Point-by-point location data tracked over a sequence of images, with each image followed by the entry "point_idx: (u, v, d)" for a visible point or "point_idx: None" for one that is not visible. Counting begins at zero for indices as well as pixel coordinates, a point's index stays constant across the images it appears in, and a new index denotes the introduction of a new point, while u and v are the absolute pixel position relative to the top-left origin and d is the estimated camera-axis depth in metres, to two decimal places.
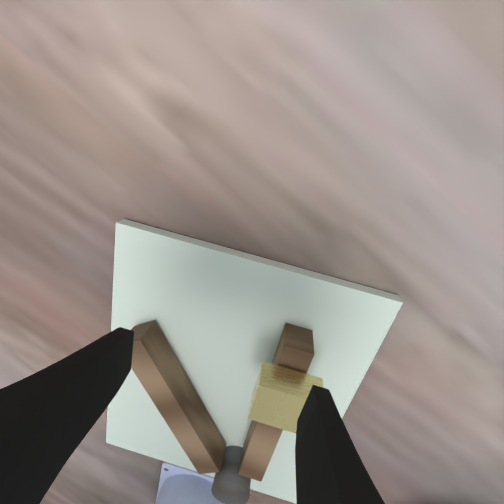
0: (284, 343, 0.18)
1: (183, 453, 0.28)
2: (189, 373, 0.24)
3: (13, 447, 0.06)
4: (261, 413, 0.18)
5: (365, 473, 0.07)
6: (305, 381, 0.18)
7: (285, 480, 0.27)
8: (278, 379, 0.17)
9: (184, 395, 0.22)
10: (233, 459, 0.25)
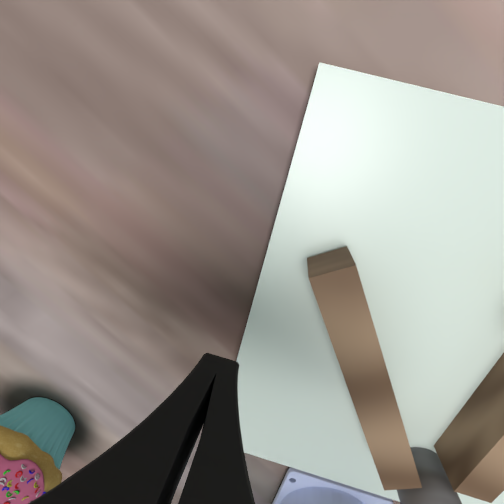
0: None
1: (330, 458, 0.19)
2: (377, 336, 0.15)
3: (162, 496, 0.06)
4: None
5: (236, 433, 0.08)
6: None
7: None
8: None
9: None
10: (429, 467, 0.17)
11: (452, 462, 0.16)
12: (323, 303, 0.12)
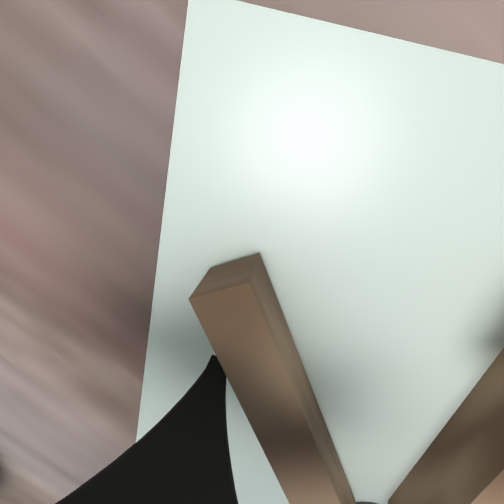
0: None
1: None
2: (308, 369, 0.12)
3: None
4: None
5: (221, 428, 0.08)
6: None
7: None
8: None
9: (312, 414, 0.11)
10: None
11: None
12: (213, 334, 0.09)
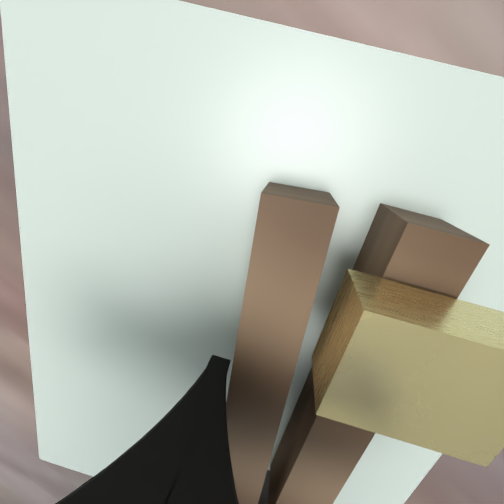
0: (404, 222, 0.07)
1: None
2: (172, 331, 0.12)
3: None
4: (358, 401, 0.06)
5: (222, 428, 0.08)
6: (472, 313, 0.07)
7: None
8: (406, 303, 0.06)
9: None
10: None
11: (272, 488, 0.13)
12: (261, 244, 0.08)
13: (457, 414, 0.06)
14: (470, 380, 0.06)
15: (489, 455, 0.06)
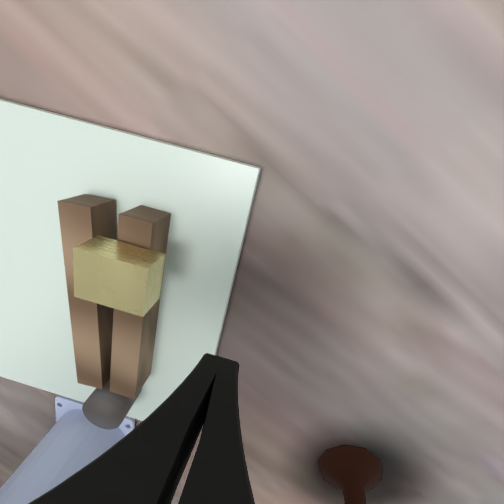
0: None
1: (70, 381, 0.25)
2: (56, 279, 0.21)
3: (162, 496, 0.06)
4: (86, 288, 0.15)
5: (236, 433, 0.08)
6: (139, 252, 0.15)
7: None
8: (104, 247, 0.15)
9: None
10: None
11: None
12: (63, 224, 0.16)
13: (122, 291, 0.15)
14: (119, 275, 0.15)
15: (141, 311, 0.15)
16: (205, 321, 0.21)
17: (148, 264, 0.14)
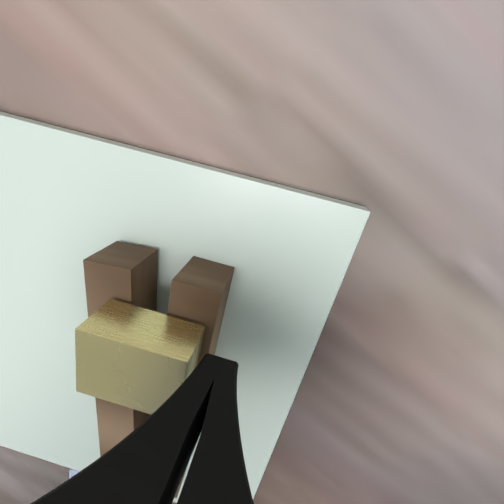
0: None
1: (88, 456, 0.20)
2: (73, 342, 0.16)
3: (164, 496, 0.06)
4: (94, 382, 0.10)
5: (235, 432, 0.08)
6: (170, 328, 0.11)
7: None
8: (120, 323, 0.10)
9: None
10: None
11: None
12: (91, 291, 0.12)
13: (146, 389, 0.10)
14: (143, 369, 0.10)
15: None
16: (269, 399, 0.16)
17: (186, 352, 0.10)
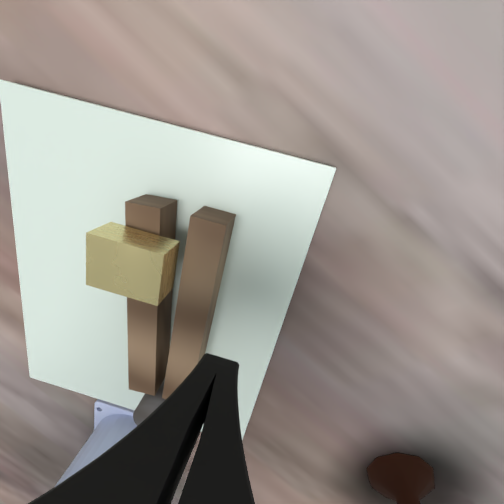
0: (192, 215, 0.15)
1: (113, 386, 0.24)
2: None
3: (163, 496, 0.06)
4: (99, 275, 0.15)
5: (236, 433, 0.08)
6: (154, 239, 0.15)
7: None
8: (117, 233, 0.14)
9: (164, 299, 0.18)
10: (161, 385, 0.22)
11: None
12: (129, 226, 0.16)
13: (136, 279, 0.14)
14: (133, 262, 0.14)
15: (156, 299, 0.15)
16: (262, 326, 0.20)
17: (163, 250, 0.14)
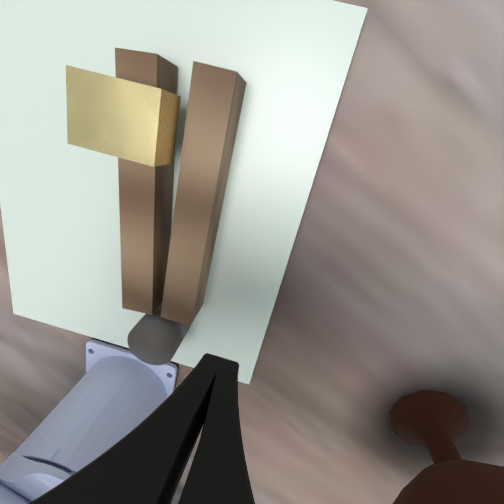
0: None
1: (106, 319, 0.22)
2: (96, 185, 0.18)
3: (162, 496, 0.06)
4: (83, 128, 0.12)
5: (236, 433, 0.08)
6: None
7: (232, 349, 0.21)
8: None
9: (162, 192, 0.16)
10: (160, 309, 0.19)
11: None
12: None
13: (127, 129, 0.12)
14: (124, 104, 0.11)
15: (152, 157, 0.12)
16: (276, 231, 0.17)
17: (161, 89, 0.11)
